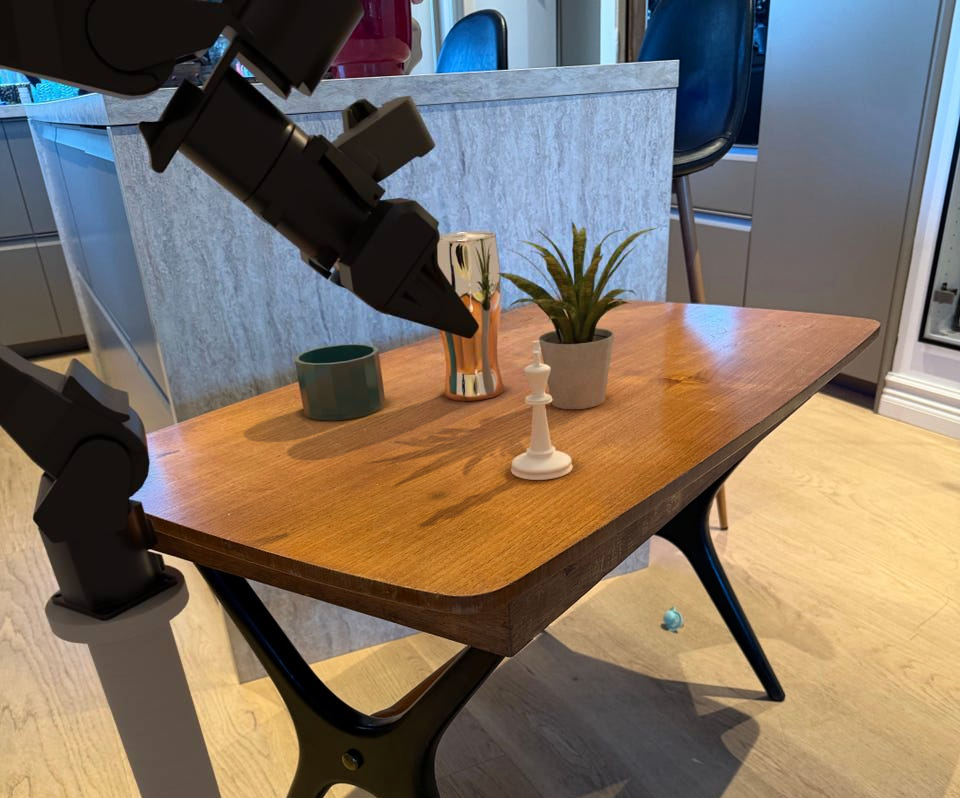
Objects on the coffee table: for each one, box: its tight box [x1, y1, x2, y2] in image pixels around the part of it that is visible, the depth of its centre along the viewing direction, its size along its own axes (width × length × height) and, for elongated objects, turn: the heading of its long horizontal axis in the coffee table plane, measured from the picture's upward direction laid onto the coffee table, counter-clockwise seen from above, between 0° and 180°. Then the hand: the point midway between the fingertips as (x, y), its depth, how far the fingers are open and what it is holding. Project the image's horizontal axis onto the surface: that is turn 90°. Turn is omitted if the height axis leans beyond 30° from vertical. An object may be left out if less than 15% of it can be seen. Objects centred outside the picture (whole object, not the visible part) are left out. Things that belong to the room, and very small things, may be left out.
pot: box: [293, 343, 386, 422], centre depth 90 cm, size 8×8×6 cm
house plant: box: [498, 221, 658, 410], centre depth 84 cm, size 14×14×16 cm
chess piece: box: [510, 340, 574, 481], centre depth 69 cm, size 5×5×10 cm
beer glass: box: [438, 230, 504, 402], centre depth 89 cm, size 7×7×15 cm
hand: (453, 321), depth 64 cm, fingers open, 9 cm apart
